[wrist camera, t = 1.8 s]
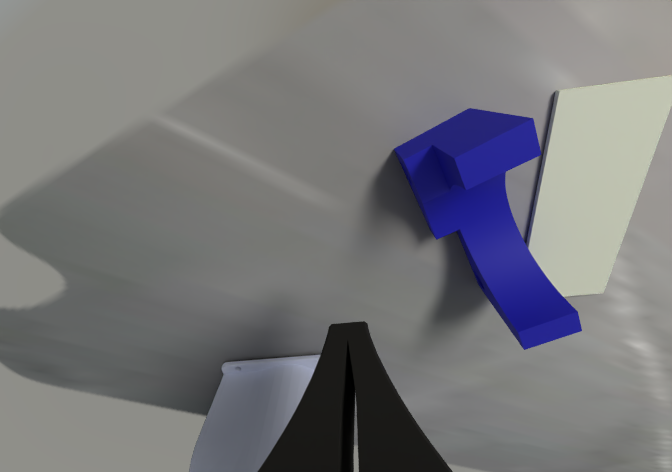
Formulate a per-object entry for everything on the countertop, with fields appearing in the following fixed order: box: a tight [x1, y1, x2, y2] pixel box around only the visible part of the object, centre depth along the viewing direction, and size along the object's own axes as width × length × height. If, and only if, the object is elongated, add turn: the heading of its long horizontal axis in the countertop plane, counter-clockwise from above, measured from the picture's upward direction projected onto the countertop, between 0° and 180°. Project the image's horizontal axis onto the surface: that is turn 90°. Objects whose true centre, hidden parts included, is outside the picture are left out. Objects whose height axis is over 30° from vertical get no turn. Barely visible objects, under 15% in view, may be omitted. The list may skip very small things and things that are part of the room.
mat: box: [526, 75, 672, 297], centre depth 18 cm, size 6×14×1 cm, turn 7°
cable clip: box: [394, 108, 582, 350], centre depth 16 cm, size 12×4×6 cm, turn 29°
